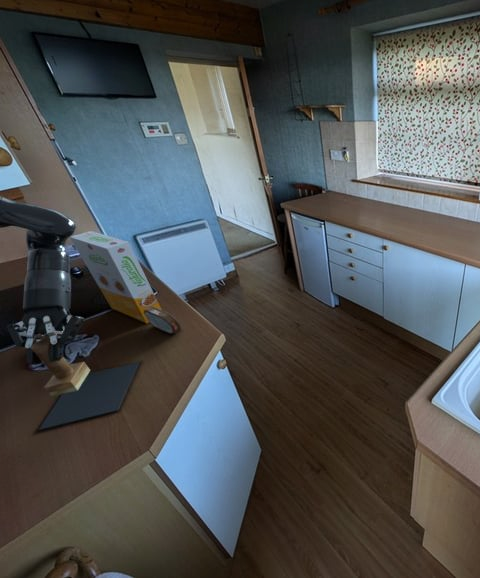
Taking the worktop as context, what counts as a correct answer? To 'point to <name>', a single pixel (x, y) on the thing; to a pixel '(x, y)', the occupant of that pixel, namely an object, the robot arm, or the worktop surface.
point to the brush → (60, 370)
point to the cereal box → (116, 273)
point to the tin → (162, 320)
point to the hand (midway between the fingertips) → (45, 362)
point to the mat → (92, 396)
